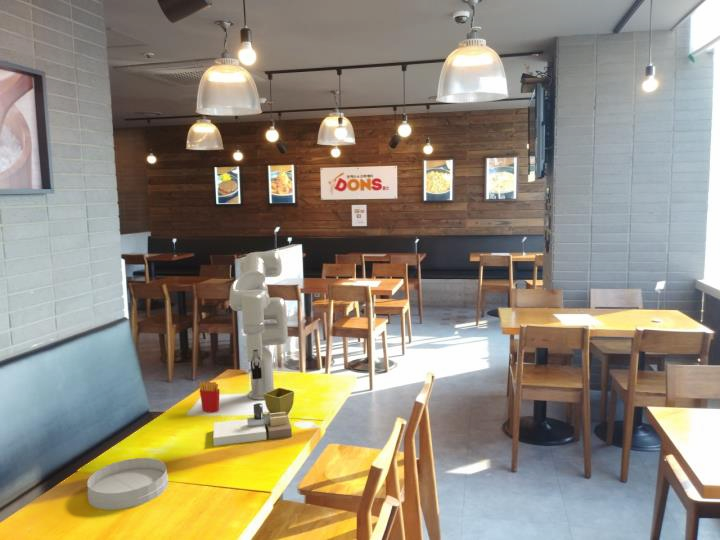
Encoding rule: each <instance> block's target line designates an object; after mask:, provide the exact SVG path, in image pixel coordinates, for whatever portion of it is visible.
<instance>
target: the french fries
mask: <svg viewBox="0 0 720 540" xmlns="http://www.w3.org/2000/svg"><path fill="white" fill-rule="evenodd" d="M198 387H199V395H200V401H201V408H202V412H204V413H213V414H214V413H217V412H218V411H219V410H220V389H219V384H218V383H217V382H215V381H213V382H211V381H207V382H205V381H200V382H199V383H198Z"/></svg>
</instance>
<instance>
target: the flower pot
mask: <svg viewBox="0 0 720 540" xmlns="http://www.w3.org/2000/svg"><path fill="white" fill-rule="evenodd" d="M294 397H295V391H294V390H291V389H286V388H283V387H277V388H274V390H272V391H269V392H267V393H264V399H263V400H264V403H265V407H266V409H267V410H268V412H269V414H270V413H278V412H286V415H288V414H289V413H290V412H291V411H292V408H293V405H294V399H295V398H294Z"/></svg>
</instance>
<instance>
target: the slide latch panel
mask: <svg viewBox="0 0 720 540" xmlns="http://www.w3.org/2000/svg"><path fill="white" fill-rule="evenodd" d="M271 415H281V416H280V417H271V418H270V424H269V425H261V426H253V427H248V422H247V418H243V419H235V420H228V421H218V422H214V423H213V437H212V438H213V439H212V440H213V447H219V446H226V444H227V445H233V444H234V443H235V444H241V443H250V442H258V441H259V442H260V441H267V434H268V438H269V439H268V440H274V439H280V438H281V439H284V438H289V437H293V434H292V426H291V425H292V424H291V422H290V420H289V416H288V414H286V412H278V413H270V412H269V413H268V416H271ZM266 429H267V430H266Z"/></svg>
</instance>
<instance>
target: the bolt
mask: <svg viewBox="0 0 720 540" xmlns="http://www.w3.org/2000/svg"><path fill="white" fill-rule="evenodd" d="M280 416H281V415H271V416H269V415H265V416H264V411H263V403H260V402H258V403H255V404H253V417H247V418H246V419H247V422H248V427H253V426H261V425H265V426H267V425H269V424H270V418H271V417H280Z"/></svg>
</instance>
